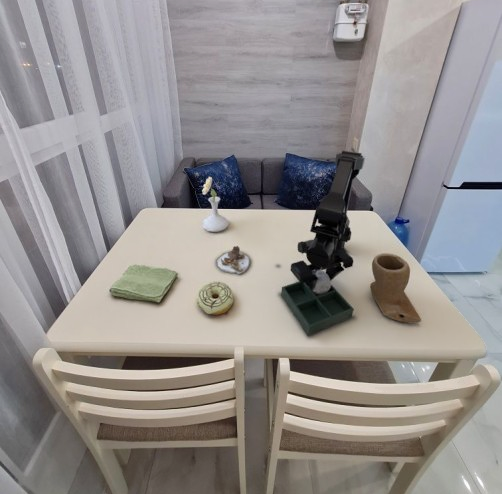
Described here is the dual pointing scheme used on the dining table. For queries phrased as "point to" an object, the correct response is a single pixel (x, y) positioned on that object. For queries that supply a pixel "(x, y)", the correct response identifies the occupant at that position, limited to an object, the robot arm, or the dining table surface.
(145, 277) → the washcloth
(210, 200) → the flower in vase
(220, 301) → the decorated donut
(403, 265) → the clay platform pipe
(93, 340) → the dining table surface
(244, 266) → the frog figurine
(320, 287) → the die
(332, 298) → the grid
